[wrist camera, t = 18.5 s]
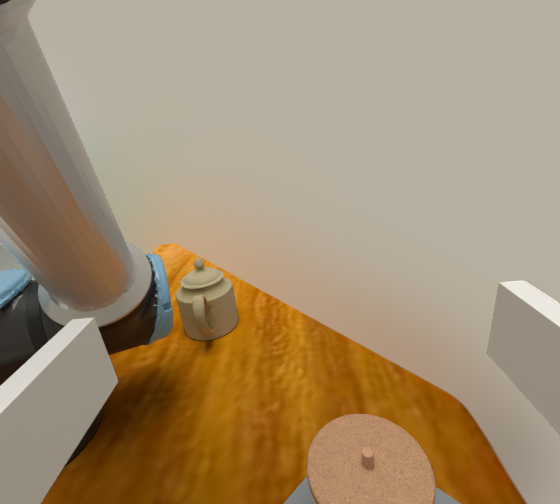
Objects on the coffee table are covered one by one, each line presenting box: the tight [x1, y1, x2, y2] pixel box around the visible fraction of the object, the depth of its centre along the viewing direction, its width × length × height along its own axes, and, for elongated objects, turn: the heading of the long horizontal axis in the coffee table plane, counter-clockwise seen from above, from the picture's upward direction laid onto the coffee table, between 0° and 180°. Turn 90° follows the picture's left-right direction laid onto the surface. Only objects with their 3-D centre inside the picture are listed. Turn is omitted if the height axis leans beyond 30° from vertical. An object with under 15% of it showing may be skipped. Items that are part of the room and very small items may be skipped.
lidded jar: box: [306, 414, 436, 504], centre depth 29 cm, size 11×11×9 cm
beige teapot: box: [176, 258, 238, 341], centre depth 61 cm, size 15×11×15 cm
